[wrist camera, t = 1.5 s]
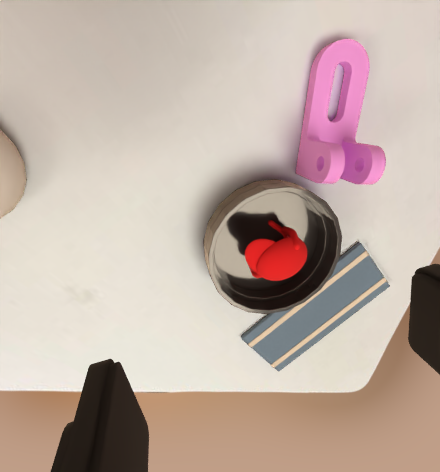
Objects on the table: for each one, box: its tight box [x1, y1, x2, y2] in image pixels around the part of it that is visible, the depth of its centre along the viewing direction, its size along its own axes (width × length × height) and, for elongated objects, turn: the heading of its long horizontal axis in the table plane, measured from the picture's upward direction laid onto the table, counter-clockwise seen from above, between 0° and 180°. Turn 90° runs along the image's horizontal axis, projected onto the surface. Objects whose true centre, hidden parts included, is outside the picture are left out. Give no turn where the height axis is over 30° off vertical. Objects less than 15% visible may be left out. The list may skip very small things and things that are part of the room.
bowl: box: [204, 179, 342, 314], centre depth 35 cm, size 15×15×4 cm
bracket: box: [296, 39, 386, 184], centre depth 29 cm, size 13×6×7 cm, turn 176°
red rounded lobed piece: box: [245, 220, 307, 281], centre depth 34 cm, size 8×6×6 cm
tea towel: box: [241, 242, 390, 371], centre depth 42 cm, size 20×9×1 cm, turn 130°
